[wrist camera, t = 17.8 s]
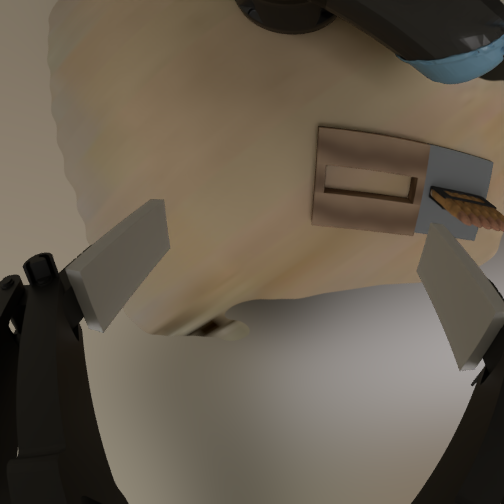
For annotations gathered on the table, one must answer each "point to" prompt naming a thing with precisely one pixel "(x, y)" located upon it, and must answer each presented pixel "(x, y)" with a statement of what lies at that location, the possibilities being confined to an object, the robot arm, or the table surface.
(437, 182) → the slate mat
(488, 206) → the ammunition clip
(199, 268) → the table surface
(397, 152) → the walnut caddy
